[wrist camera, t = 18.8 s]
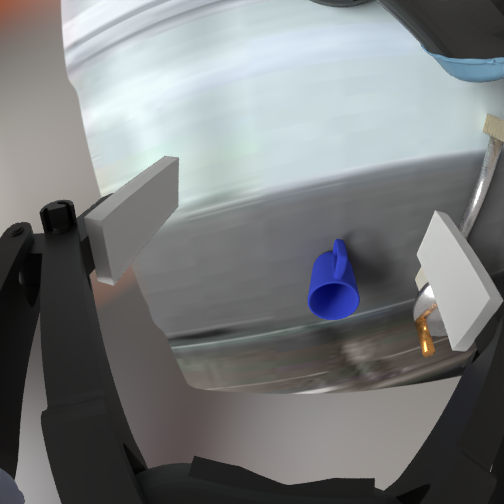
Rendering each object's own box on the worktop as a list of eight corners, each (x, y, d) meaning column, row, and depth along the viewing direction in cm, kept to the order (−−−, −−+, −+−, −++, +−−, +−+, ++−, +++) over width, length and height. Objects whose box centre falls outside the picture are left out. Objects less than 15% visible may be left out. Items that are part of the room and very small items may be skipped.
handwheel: (398, 297, 44) (408, 336, 37) (476, 248, 36) (497, 282, 29) (429, 342, 48) (438, 377, 41) (495, 303, 41) (510, 336, 34)
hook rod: (487, 113, 32) (521, 128, 24) (500, 121, 32) (535, 136, 24) (441, 244, 47) (460, 279, 39) (454, 248, 47) (474, 282, 38)
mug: (362, 228, 49) (371, 263, 40) (349, 284, 55) (353, 322, 47) (315, 223, 50) (315, 257, 42) (307, 279, 56) (304, 317, 48)
